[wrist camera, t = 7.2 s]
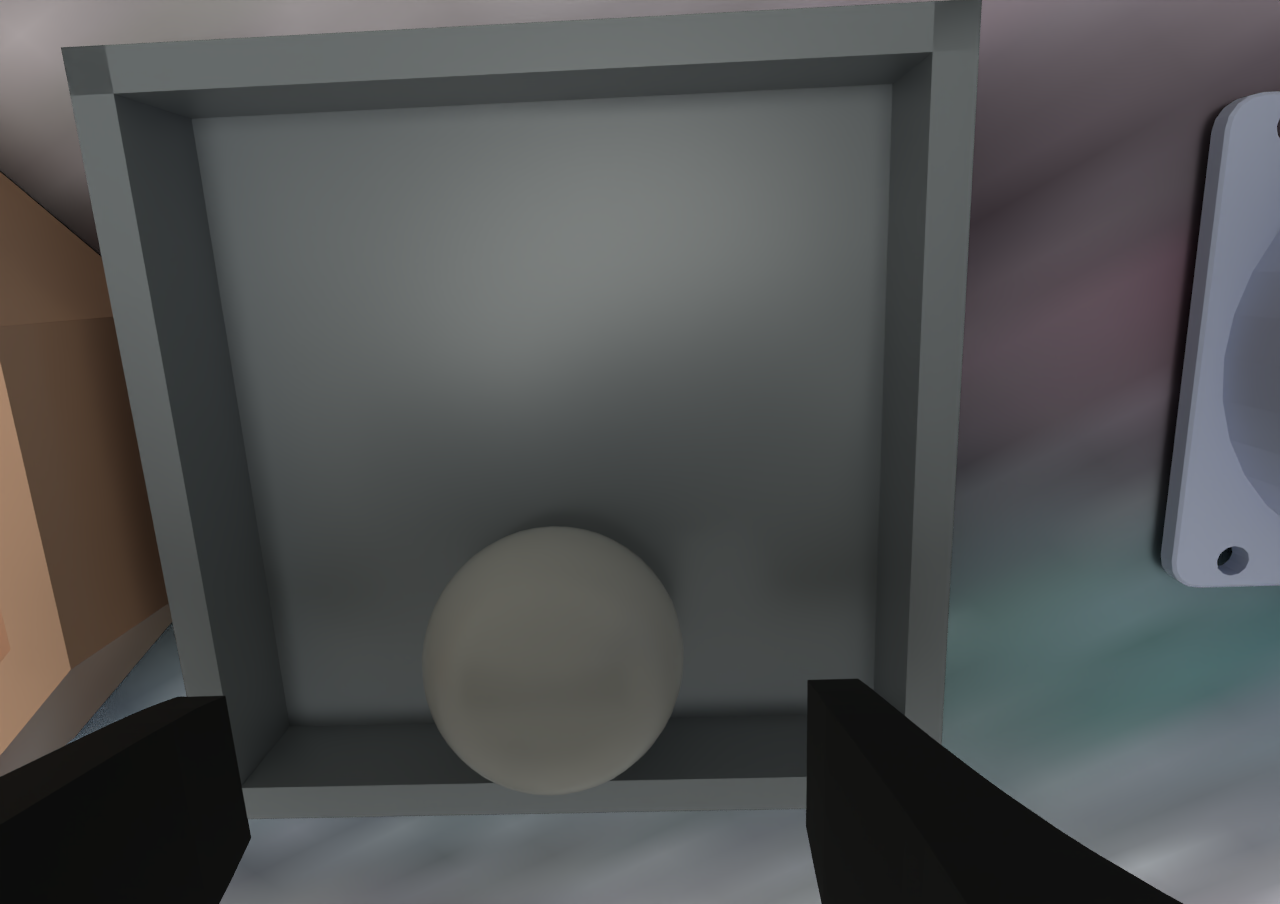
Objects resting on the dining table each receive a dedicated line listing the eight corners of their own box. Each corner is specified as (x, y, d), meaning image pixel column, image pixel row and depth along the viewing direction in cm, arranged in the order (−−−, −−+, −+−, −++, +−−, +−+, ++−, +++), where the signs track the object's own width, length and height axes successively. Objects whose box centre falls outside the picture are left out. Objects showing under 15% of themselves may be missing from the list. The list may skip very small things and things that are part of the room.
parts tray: (924, 46, 12) (981, -2, 10) (898, 729, 15) (938, 806, 13) (163, 85, 13) (60, 47, 10) (273, 742, 15) (210, 819, 13)
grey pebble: (677, 491, 13) (683, 582, 10) (683, 698, 14) (692, 856, 10) (449, 498, 14) (365, 590, 10) (470, 702, 15) (400, 862, 11)
